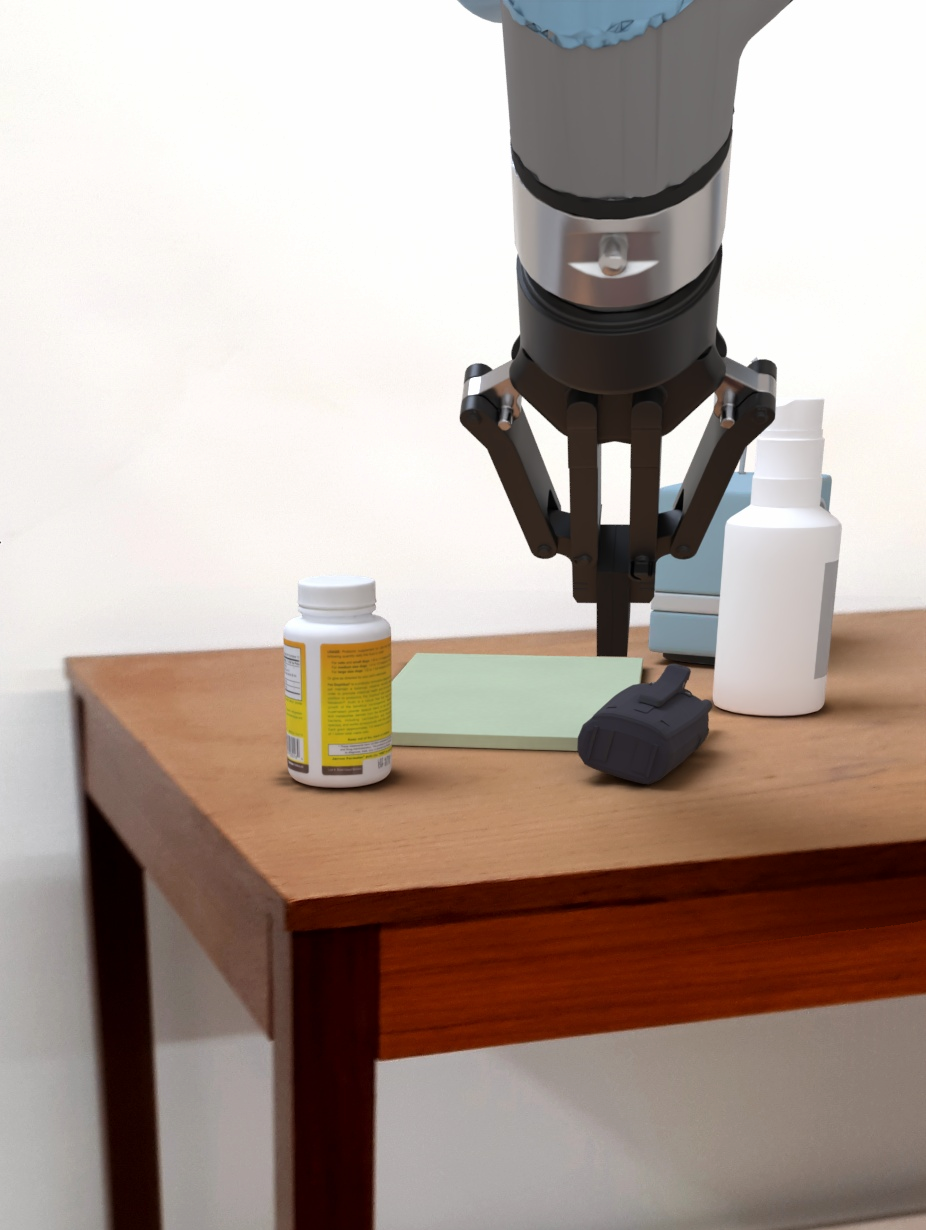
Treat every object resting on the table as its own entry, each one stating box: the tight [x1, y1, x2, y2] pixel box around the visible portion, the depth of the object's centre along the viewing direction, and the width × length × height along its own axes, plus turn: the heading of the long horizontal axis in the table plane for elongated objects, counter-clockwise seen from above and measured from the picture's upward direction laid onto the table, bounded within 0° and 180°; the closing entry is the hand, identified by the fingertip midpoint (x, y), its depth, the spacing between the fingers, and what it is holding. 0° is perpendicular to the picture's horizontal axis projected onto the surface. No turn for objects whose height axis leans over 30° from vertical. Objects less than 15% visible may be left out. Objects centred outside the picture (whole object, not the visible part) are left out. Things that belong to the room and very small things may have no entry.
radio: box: [648, 356, 833, 666], centre depth 119 cm, size 16×9×20 cm, turn 150°
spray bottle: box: [712, 397, 843, 717], centre depth 101 cm, size 7×7×18 cm
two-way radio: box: [577, 663, 713, 786], centre depth 91 cm, size 6×4×15 cm
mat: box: [392, 652, 644, 752], centre depth 106 cm, size 16×26×1 cm, turn 169°
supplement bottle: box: [282, 574, 393, 789], centre depth 87 cm, size 6×6×10 cm
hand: (613, 633), depth 82 cm, fingers closed
